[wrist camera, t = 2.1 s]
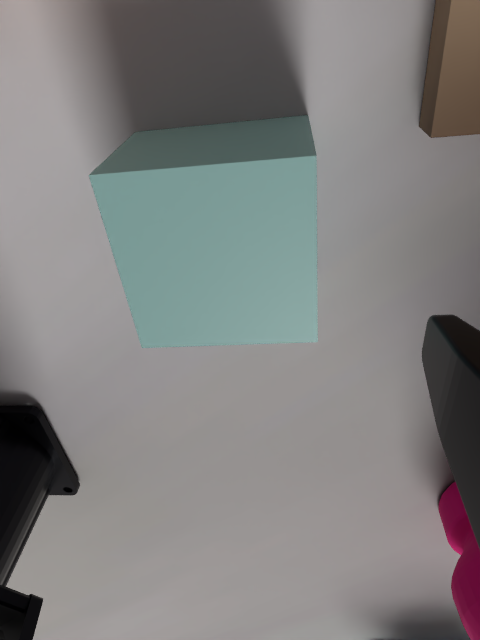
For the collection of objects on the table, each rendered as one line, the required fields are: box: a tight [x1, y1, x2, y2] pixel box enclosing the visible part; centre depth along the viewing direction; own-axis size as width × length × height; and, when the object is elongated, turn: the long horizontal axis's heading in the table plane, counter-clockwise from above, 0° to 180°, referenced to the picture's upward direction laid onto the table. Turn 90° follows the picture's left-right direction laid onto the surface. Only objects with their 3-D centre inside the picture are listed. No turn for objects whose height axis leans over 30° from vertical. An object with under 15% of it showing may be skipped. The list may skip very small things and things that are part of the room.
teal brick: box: [89, 115, 318, 348], centre depth 13 cm, size 5×5×4 cm
